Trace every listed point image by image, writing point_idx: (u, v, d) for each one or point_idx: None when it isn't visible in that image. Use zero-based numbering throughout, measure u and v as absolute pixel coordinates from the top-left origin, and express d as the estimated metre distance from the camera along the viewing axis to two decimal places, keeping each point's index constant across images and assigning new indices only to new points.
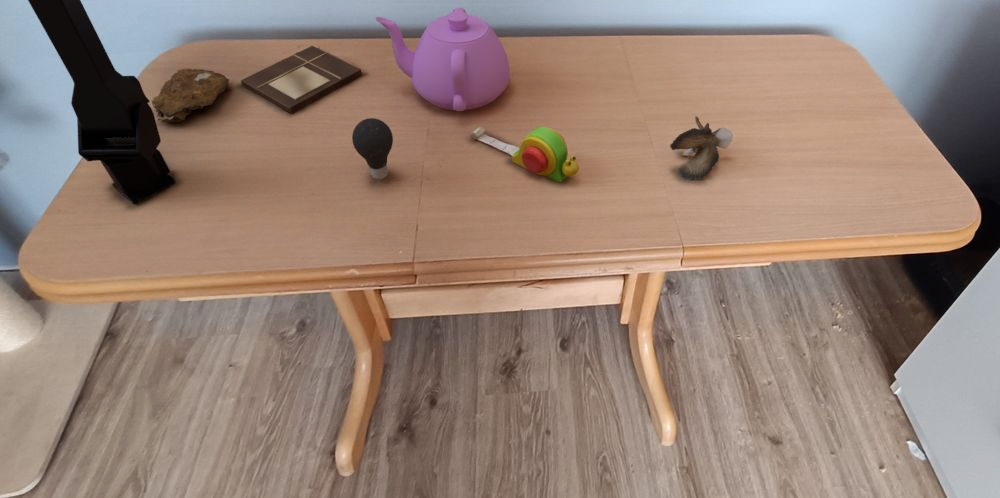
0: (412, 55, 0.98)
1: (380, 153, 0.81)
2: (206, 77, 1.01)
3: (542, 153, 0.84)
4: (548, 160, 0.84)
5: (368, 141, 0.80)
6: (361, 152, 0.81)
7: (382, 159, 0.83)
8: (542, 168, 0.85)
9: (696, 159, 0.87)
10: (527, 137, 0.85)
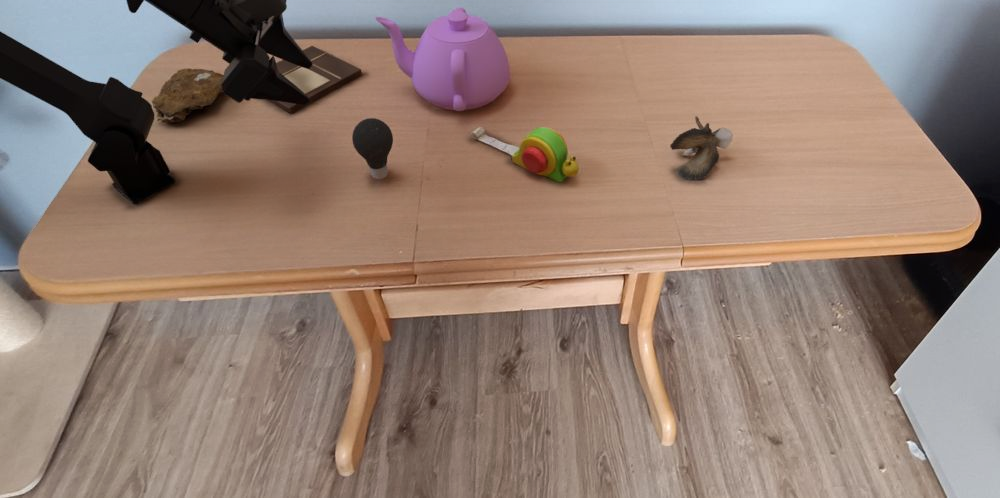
0: (412, 55, 0.98)
1: (380, 153, 0.81)
2: (206, 77, 1.01)
3: (542, 153, 0.84)
4: (548, 160, 0.84)
5: (368, 141, 0.80)
6: (361, 152, 0.81)
7: (382, 159, 0.83)
8: (542, 168, 0.85)
9: (696, 159, 0.87)
10: (527, 137, 0.85)
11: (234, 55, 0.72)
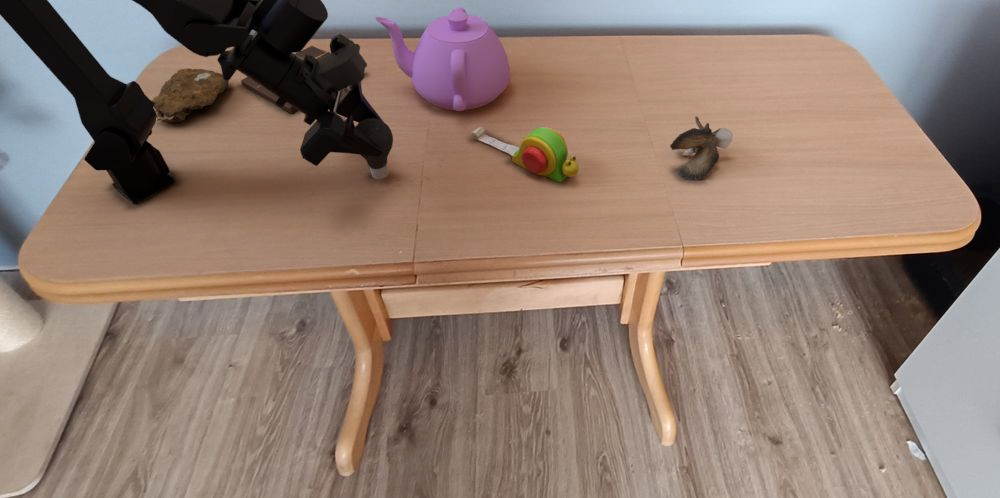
0: (412, 55, 0.98)
1: None
2: (206, 77, 1.01)
3: (542, 153, 0.84)
4: (548, 160, 0.84)
5: None
6: None
7: (382, 159, 0.83)
8: (542, 168, 0.85)
9: (696, 159, 0.87)
10: (527, 137, 0.85)
11: (314, 118, 0.76)
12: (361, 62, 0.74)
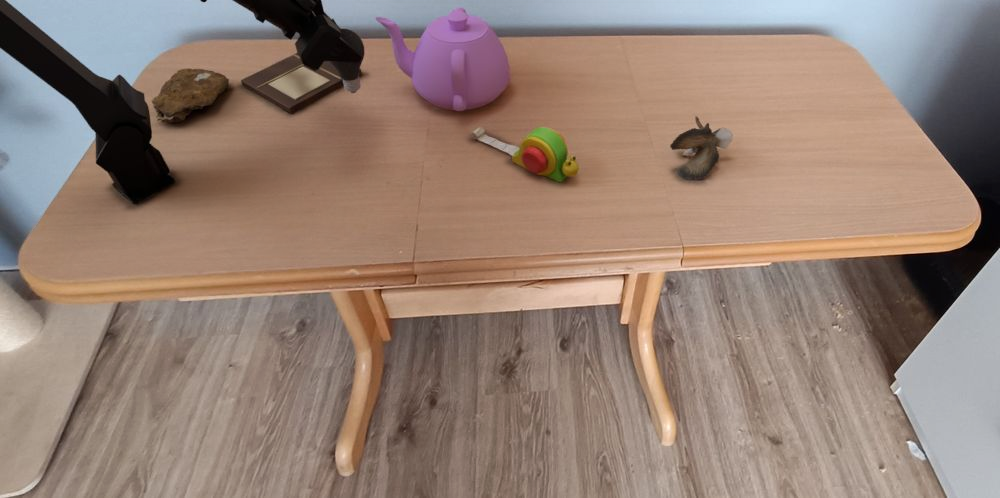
0: (412, 55, 0.98)
1: None
2: (206, 77, 1.01)
3: (542, 153, 0.84)
4: (548, 160, 0.84)
5: None
6: None
7: (358, 67, 0.87)
8: (542, 168, 0.85)
9: (696, 159, 0.87)
10: (527, 137, 0.85)
11: (295, 30, 0.79)
12: None
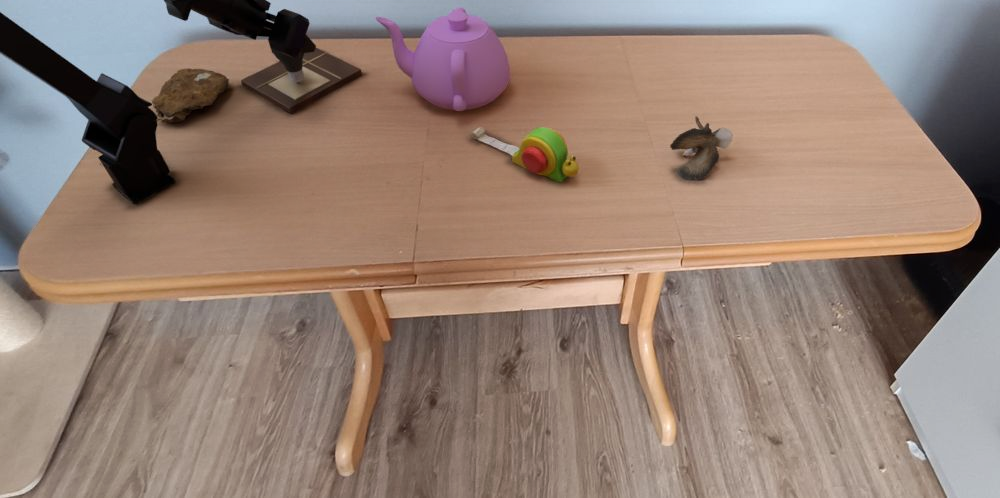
0: (412, 55, 0.98)
1: None
2: (206, 77, 1.01)
3: (542, 153, 0.84)
4: (548, 160, 0.84)
5: None
6: None
7: None
8: (542, 168, 0.85)
9: (696, 159, 0.87)
10: (527, 137, 0.85)
11: (258, 30, 0.89)
12: None
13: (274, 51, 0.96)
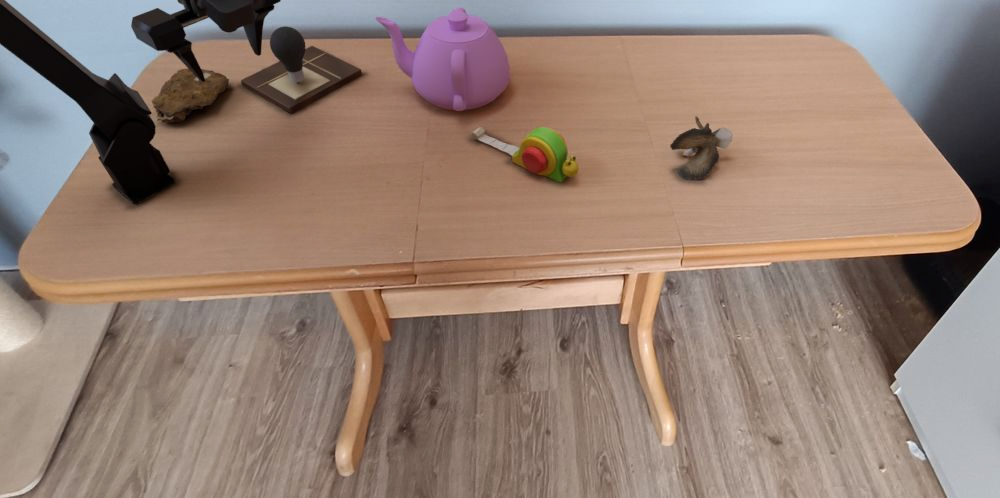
0: (412, 55, 0.98)
1: (304, 49, 0.98)
2: (206, 77, 1.01)
3: (542, 153, 0.84)
4: (548, 160, 0.84)
5: (295, 41, 0.96)
6: (292, 54, 0.96)
7: None
8: (542, 168, 0.85)
9: (696, 159, 0.87)
10: (527, 137, 0.85)
11: (183, 4, 0.76)
12: (244, 20, 0.74)
13: (274, 51, 0.96)
